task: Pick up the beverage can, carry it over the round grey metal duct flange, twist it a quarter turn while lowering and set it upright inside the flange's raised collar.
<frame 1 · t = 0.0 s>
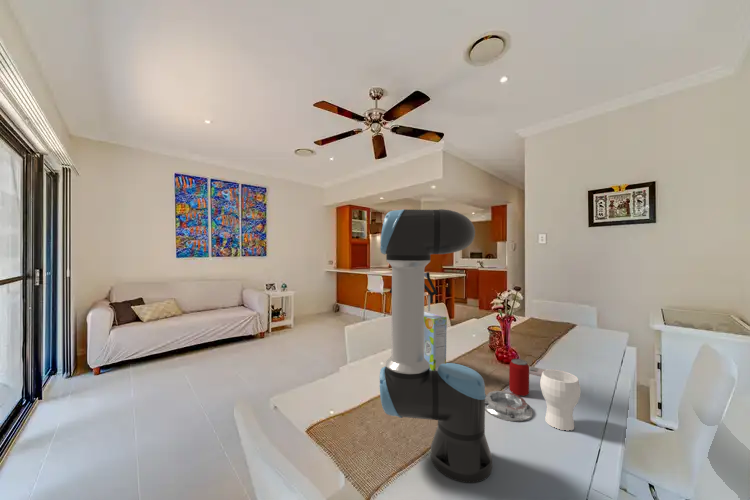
hand: (413, 310, 126), 28 cm above the table, fingers open, 13 cm apart
snack box: (422, 370, 131), on the table
beverage can: (518, 393, 111), on the table
duct flange: (506, 407, 100), on the table
remote control: (539, 375, 128), on the table
cup: (559, 424, 91), on the table
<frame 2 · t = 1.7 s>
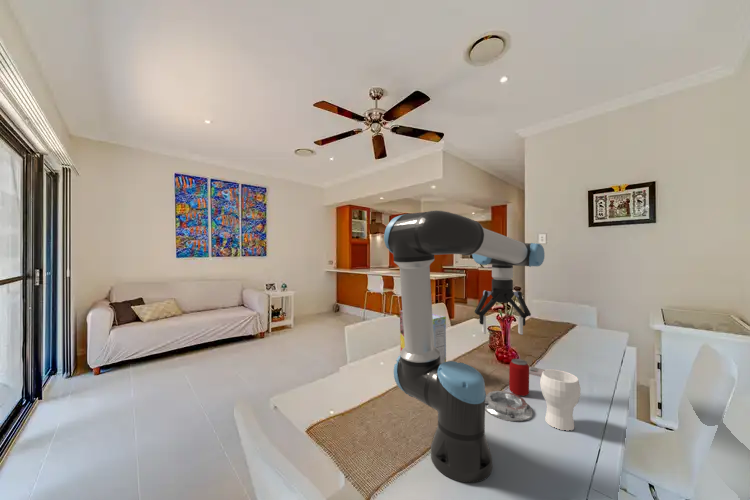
hand: (502, 333, 113), 22 cm above the table, fingers open, 13 cm apart
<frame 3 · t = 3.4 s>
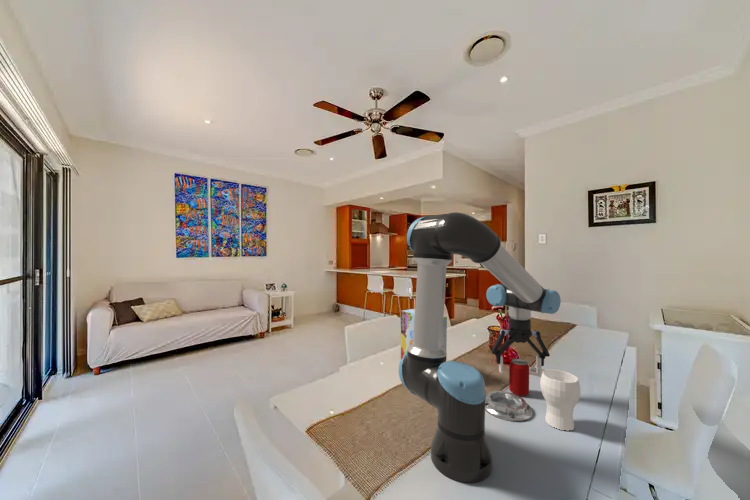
hand: (519, 373, 111), 7 cm above the table, fingers open, 13 cm apart
nothing on the table moved.
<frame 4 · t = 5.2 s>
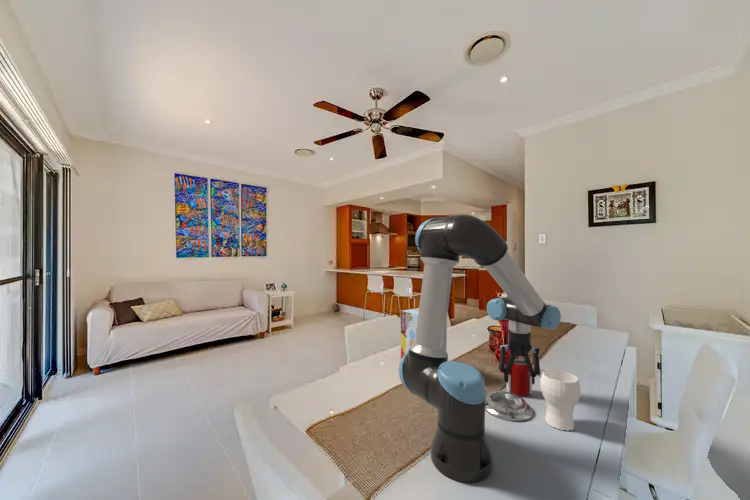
hand: (519, 391, 111), 1 cm above the table, fingers closed on beverage can, 7 cm apart
beverage can: (518, 393, 111), on the table, touching gripper
everything else where it was.
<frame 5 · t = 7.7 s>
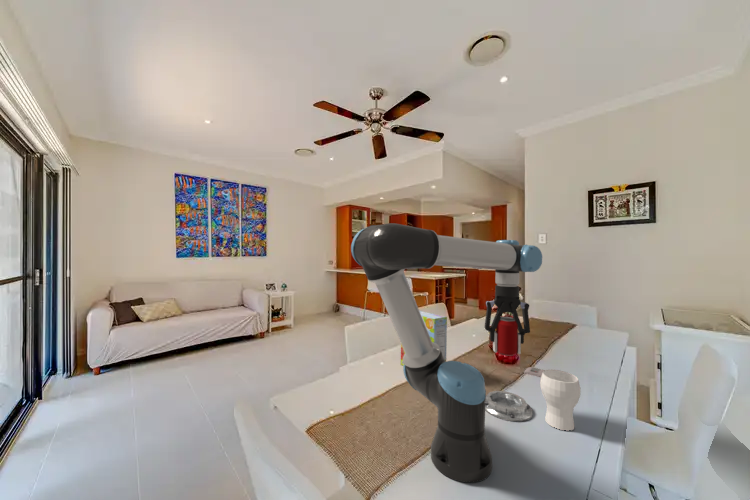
hand: (506, 351, 100), 19 cm above the table, fingers closed on beverage can, 7 cm apart
beverage can: (506, 353, 100), point 19 cm above the table, touching gripper
when the fingers open (4 cm above the table, at t = 10.4 s): beverage can drops 2 cm, resting on duct flange.
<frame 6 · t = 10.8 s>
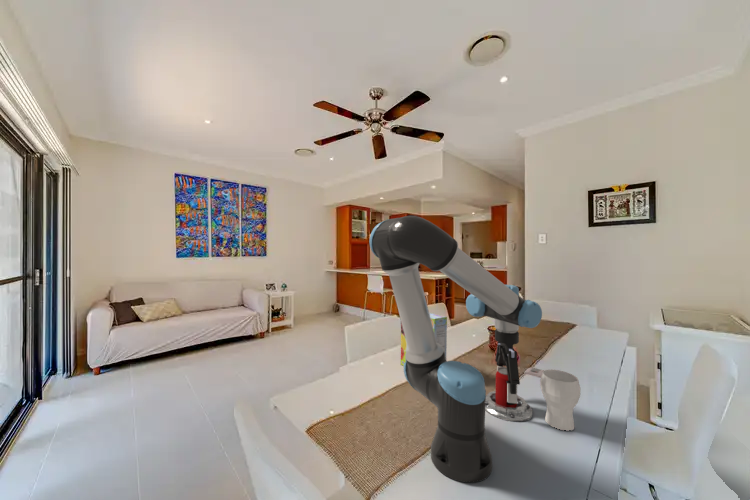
hand: (506, 393, 100), 5 cm above the table, fingers open, 12 cm apart
beverage can: (506, 406, 100), point 1 cm above the table, touching duct flange
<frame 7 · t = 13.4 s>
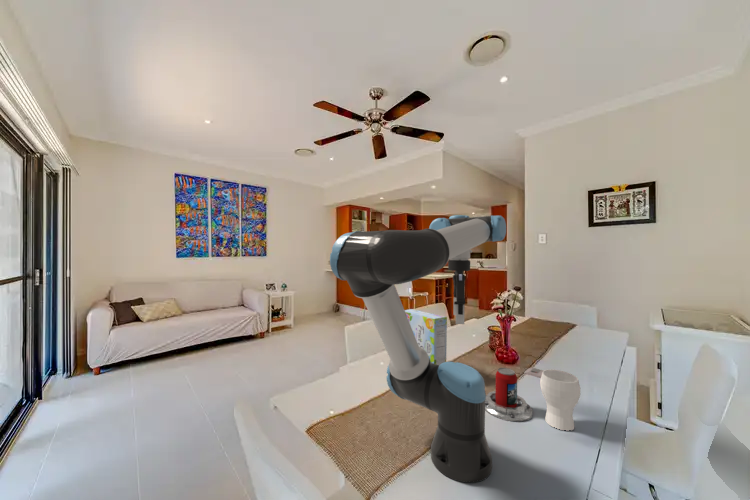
hand: (458, 319, 103), 30 cm above the table, fingers open, 13 cm apart
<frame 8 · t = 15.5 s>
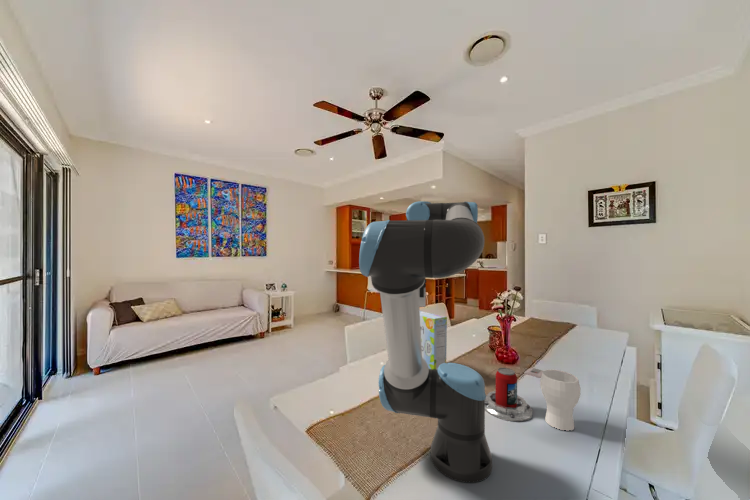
hand: (421, 303, 106), 35 cm above the table, fingers open, 13 cm apart
at the end: beverage can 0.1 cm off-centre on the duct flange, point 0.6 cm above the duct flange's base; beverage can tilted 0°; the gripper is holding nothing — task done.
